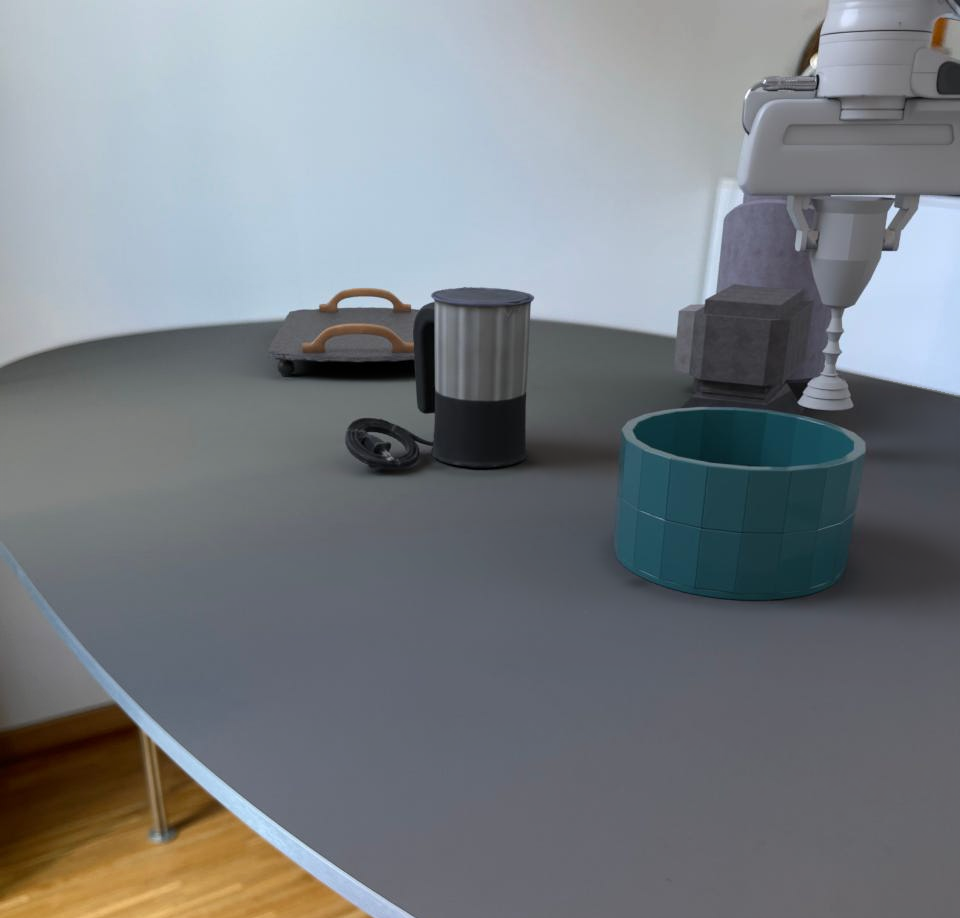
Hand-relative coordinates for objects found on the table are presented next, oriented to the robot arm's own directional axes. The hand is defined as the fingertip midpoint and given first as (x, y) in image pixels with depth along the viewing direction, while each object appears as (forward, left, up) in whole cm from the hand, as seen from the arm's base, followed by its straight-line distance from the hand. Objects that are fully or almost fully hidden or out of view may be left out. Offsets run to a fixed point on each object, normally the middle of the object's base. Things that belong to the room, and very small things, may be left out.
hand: (846, 250), depth 95 cm
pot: (+14, +27, -19) cm, 36 cm away
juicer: (+1, -21, -19) cm, 28 cm away
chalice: (0, 0, -14) cm, 14 cm away
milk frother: (+36, +3, -19) cm, 41 cm away
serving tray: (+48, -49, -19) cm, 71 cm away
